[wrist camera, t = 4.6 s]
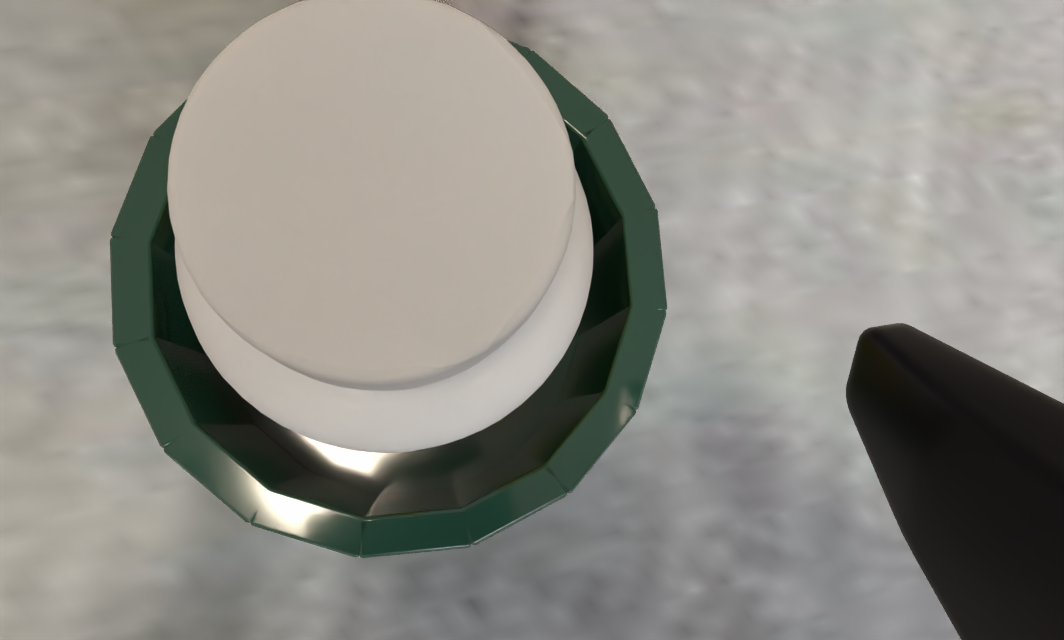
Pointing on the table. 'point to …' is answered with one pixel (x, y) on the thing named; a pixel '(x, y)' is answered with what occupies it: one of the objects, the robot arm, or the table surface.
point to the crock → (418, 476)
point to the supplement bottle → (378, 223)
